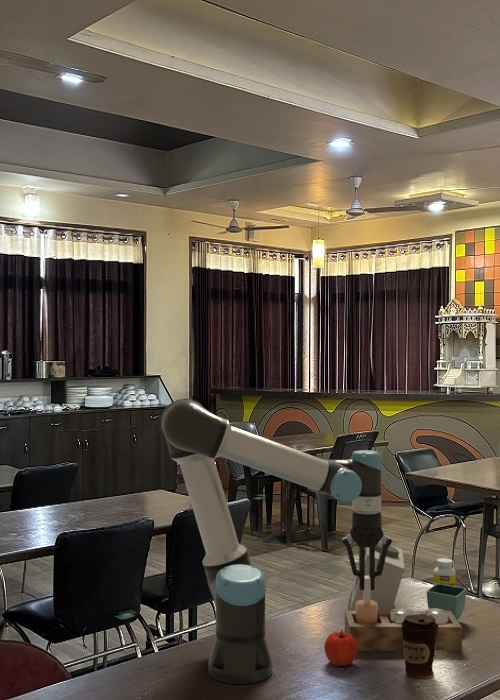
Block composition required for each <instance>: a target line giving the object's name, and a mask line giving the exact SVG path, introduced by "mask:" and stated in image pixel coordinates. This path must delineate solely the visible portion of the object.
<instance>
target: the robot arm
mask: <svg viewBox="0 0 500 700" xmlns="http://www.w3.org/2000/svg"><path fill="white" fill-rule="evenodd" d="M160 428H161V431H162V433H163V434H164V435H163V436H164V437H165V440H166V445H167V448H168V451H169V454H170V458H171V460H173V461H175V462H176V463H178V464H179V466H180V467H179V468H180V470H181V472H182V477H183V481H184V483H185V486H186V491H187V494H188V497H189V501H190V503H191V508H192V510H193V514H194V517H195V521H196V523H197V527H198V531H199V535H200V538H201V541H202V544H203V549H204V550H205V556H204V557H203V560H202V562H201V563H202V565H203V569H204V572H205V576H206V579H207V585H208V589H209V591H210V594H211V596H212V599H213V602H214V605H215V606H214V607H215V640H214V641H213V642H214V643H213V646H212V649H211V652H210V655H209V659H208V663H207V664H208V668H207V670H208V675H209V676H210V677H211V678H212V679H214V680H216V681H219V682H222V683H226V684H232V685H247V684H254V683H258V682H261V681H262V682H263V681H264V680H267V679H268V678H269V677H270V676H272V673H273V671H274V669H273V667H274V666H273V658H272V656H271V652H270V649H269V646H268V642H267V639H266V591H267V584H266V578H265V575H264V573H263V572H262V570H260V569H259V568H257V567H253V566H252V563H251V562H252V561H251V559H250V555H249V552H248V548H247V547H246V546H244V545H243V544H240V543H239V539H238V537H237V531H236V529H235V526H234V522H233V518H232V516H231V512H230V509H229V506H228V502H227V498H226V496H225V491H224V489H223V485H222V481H221V478H220V475H219V471H218V467H217V464H216V461H215V460H216V459H218V458H220V457H221V458H224V459H227V460H230V461H233V462H235V463H238V464H239V465H240V464H241V465H243V466H246V467H249V468H252V469H254V470H258V471H260V472H264V473H266V474H268V475H272V476H274V477H277V478H280V479H282V480H283V479H284V480H286V481H288V482H291V483H295V484H297V485H300V486H303V487H305V488H308V489H309V490H311V491H313V490H314V491H317V492H319V493H322V494H325V495H327V496H330V497H333V498H334V499H335V500H337V501H340V502H343V503H349V502H351V509H352V510H353V511H352V512H351V530H350V532H349V534H348V535H346V536H342V538H341V541H342V543H343V544H344V546H345V547H346V552H347V556H348V561H349V564H350V567H351V568H350V569H351V572H352V574H353V576H355V577H356V576H358V577H359V587H360V590H363V601H364V603H365V604H371V590H374V589H375V577H376V576H381V575H382V571H383V567H384V563H385V559H386V555H387V550H388V547H389V546H390V545H391V544H392V543H393V540H392V538H391V537H390V536H387V535H386V534H385V533H384V531H383V528H382V512H381V510H382V471H383V468H382V458H381V454H380V452H378V451H377V450H367V449H363V450H354V451H352V453H351V457H350V458H348V459H323V458H320V457H317V456H314V455H311V454H309V453H306V452H303V451H300V450H297V449H294V448H293V447H289V446H287V445H284V444H282V443H279V442H276V441H273V440H270V439H269V438H265V437H262V436H259V435H257V434H253V432H252V433H251V432H249V431H246V430H243V429H241V428H237V427H234V426H232V425H231V424H230V422H229V420H228V419H226V418H223V417H220V416H218V415H216V414H214V413H212V412H211V411H210V410H207V408H205V407H204V406H203V404H201V403H200V402H198V401H196V400H195V399H192V398H181V399H176V400H175V401H174V400H173V401H172V402H171V403H169V404H168V405H167V406H166V407H165V409H164V410H163V412H162V414H161V417H160ZM352 540H353V541H354V542H355V544H356V545H357V547H358V568H359V570H358V569H357V565H356V560H355V557H354V556H355V555H354V552H353V548H352V546H351V544H353V541H352ZM379 541H381V542H382V543H383V544H382V547H381V551H380V555H379V560H378V564H377V568H376V570H375V546H376V545H377V544H378V543H379ZM366 547H369V576H365V548H366Z"/></svg>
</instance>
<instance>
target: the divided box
mask: <svg viewBox="0 0 500 700" xmlns="http://www.w3.org/2000/svg"><path fill="white" fill-rule="evenodd" d="M411 611H412V612H413V615H417V614H418V615H426V610H411ZM447 612H448V624H438V632H437V636H436V651H435V652H462V651H463V627H462V625H461V624H460V622H459V620H458V621H457V619H456V618H455V617H454V615H453V614H452V612H451V611H447ZM344 632H345V633H349V634H351V635H352V636H353V637H354V638H355V640H356V642H357V645H358V651H360V652H361V651H371V652H372V651H373V652H374V651H375V652H376V651H378V652H380V651H381V652H385V651H386V652H387V651H388V652H393V651H394V652H395V651H397V652H398V651H400V652H403V633H402V623H391V611H378V623H356V611H351V610H348V609H347V610H344Z"/></svg>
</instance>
